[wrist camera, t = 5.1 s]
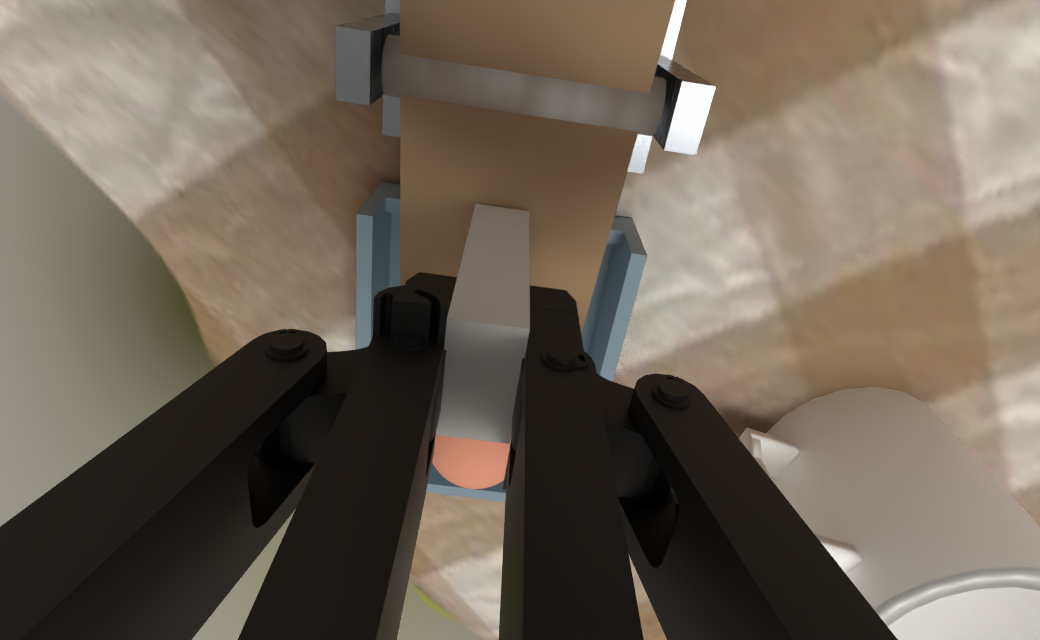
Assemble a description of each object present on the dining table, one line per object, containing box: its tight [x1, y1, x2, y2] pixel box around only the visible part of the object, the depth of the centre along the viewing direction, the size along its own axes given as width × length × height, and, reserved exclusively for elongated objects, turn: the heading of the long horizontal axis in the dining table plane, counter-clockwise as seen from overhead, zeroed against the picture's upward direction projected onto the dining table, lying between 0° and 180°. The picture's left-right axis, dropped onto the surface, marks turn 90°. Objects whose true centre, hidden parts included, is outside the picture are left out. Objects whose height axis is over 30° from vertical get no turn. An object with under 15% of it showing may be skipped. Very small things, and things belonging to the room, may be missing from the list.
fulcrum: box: [335, 0, 716, 174], centre depth 18 cm, size 6×9×10 cm, turn 82°
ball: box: [432, 435, 511, 489], centre depth 21 cm, size 4×4×4 cm
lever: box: [382, 0, 676, 333], centre depth 16 cm, size 24×7×10 cm, turn 172°
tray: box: [356, 182, 647, 502], centre depth 27 cm, size 14×11×4 cm
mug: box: [739, 387, 1040, 640], centre depth 28 cm, size 14×10×11 cm
